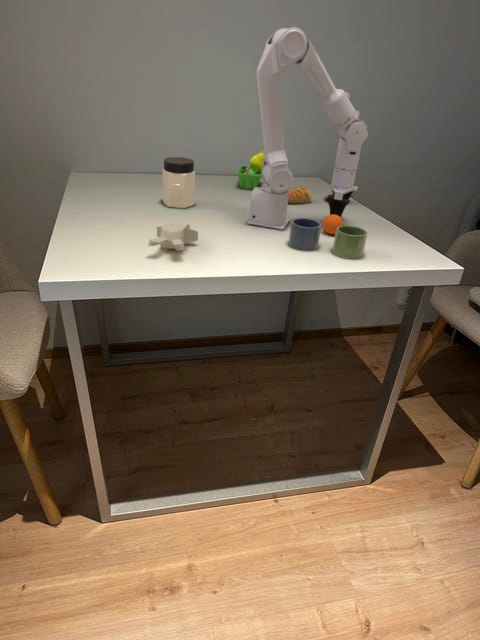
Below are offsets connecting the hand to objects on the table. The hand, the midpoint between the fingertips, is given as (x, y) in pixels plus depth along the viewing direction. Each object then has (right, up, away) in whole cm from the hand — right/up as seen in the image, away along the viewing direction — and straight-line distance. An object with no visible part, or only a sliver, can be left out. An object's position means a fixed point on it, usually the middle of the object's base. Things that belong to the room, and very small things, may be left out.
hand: (336, 219), depth 126 cm
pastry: (-9, +9, +17) cm, 21 cm away
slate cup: (-11, -9, -14) cm, 20 cm away
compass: (+5, +9, +20) cm, 22 cm away
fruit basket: (-22, +17, +28) cm, 40 cm away
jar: (-43, +6, +6) cm, 44 cm away
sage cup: (-1, -11, -17) cm, 20 cm away
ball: (-2, -3, -7) cm, 8 cm away
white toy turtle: (-41, -11, -21) cm, 47 cm away
